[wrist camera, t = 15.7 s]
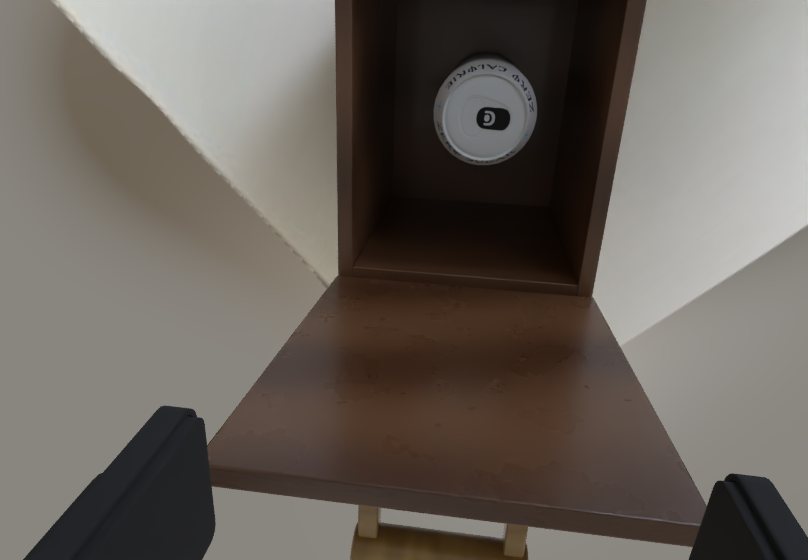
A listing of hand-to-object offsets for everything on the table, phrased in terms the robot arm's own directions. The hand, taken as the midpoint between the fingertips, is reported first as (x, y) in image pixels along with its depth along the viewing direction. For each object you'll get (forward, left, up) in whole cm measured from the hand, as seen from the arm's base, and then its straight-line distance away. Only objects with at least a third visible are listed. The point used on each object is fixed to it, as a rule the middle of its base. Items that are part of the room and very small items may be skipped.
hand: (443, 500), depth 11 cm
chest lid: (0, +5, -14) cm, 15 cm away
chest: (0, -3, -41) cm, 41 cm away
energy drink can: (0, -4, -40) cm, 40 cm away
